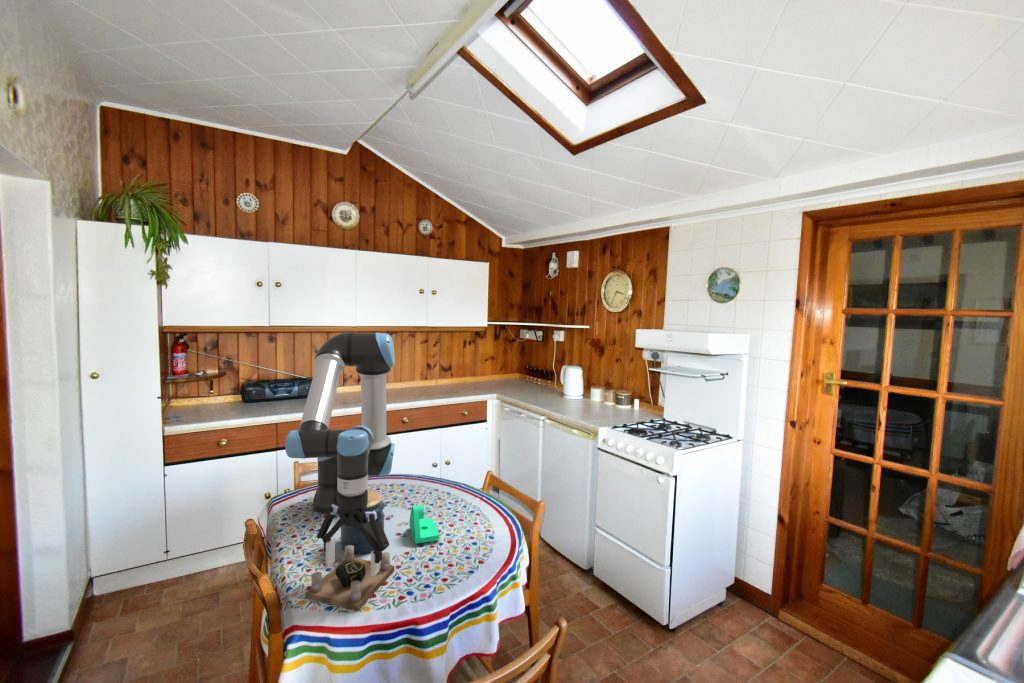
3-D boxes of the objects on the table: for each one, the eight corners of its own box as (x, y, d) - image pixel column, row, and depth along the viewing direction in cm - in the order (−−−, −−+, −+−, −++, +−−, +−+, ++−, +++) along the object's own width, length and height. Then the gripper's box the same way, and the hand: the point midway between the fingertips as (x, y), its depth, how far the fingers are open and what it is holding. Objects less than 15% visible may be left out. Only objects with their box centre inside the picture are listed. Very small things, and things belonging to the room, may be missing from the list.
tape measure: (334, 578, 117) (334, 564, 116) (360, 569, 121) (360, 556, 120) (342, 592, 111) (342, 577, 111) (369, 582, 115) (369, 568, 115)
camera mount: (439, 543, 139) (440, 511, 138) (415, 547, 136) (415, 515, 135) (432, 525, 150) (432, 495, 149) (409, 528, 147) (409, 498, 146)
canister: (372, 529, 146) (372, 477, 144) (392, 544, 136) (392, 489, 135) (333, 542, 136) (333, 487, 135) (351, 560, 127) (351, 501, 126)
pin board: (305, 598, 110) (305, 577, 110) (347, 561, 127) (347, 543, 126) (357, 611, 107) (357, 589, 106) (394, 571, 123) (394, 552, 123)
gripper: (302, 489, 114) (302, 567, 116) (387, 503, 108) (386, 586, 110) (321, 479, 122) (321, 552, 123) (403, 491, 115) (402, 569, 117)
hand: (352, 568), depth 116 cm, fingers open, 13 cm apart
